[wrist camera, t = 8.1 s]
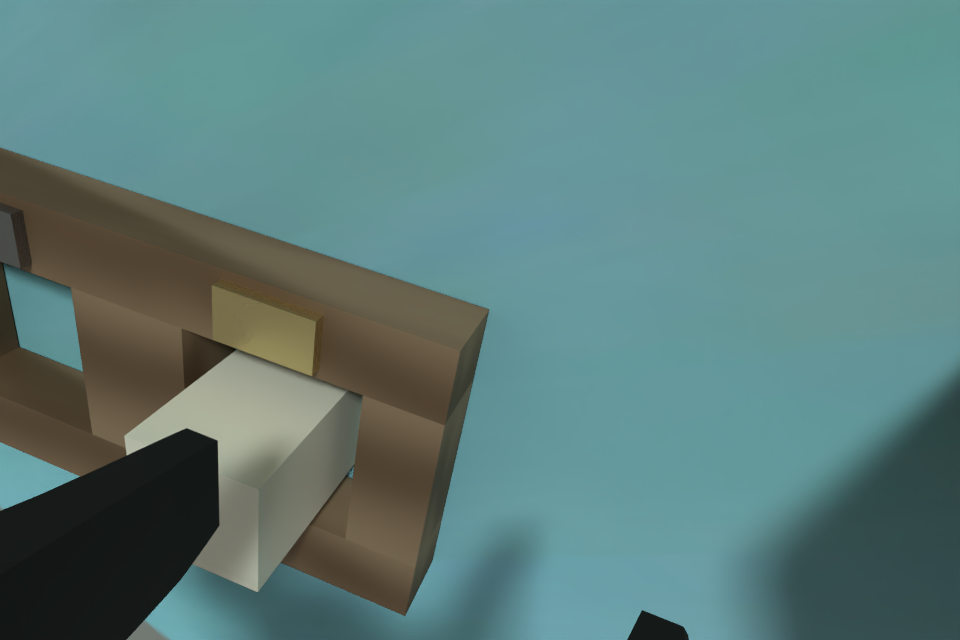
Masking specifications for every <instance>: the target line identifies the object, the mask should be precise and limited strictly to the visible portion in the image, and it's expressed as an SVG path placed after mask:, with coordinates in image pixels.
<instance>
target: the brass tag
mask: <svg viewBox="0 0 960 640" xmlns="http://www.w3.org/2000/svg"><path fill="white" fill-rule="evenodd" d="M323 316H324V315H321V314H318V313H316V312H313V311H310V310H307V309H304V308H301V307H298V306H296V305H293V304H290V303H287V302H284V301H281V300H278V299H275V298H273V297H270V296H267V295H264V294H261V293H258V292H255V291H253V290H250V289H247V288H244V287H241V286H238V285H235V284H232V283H230V282H227V281H224V280H219V281H218V282H216V283H214V284H213V285H212V326H213V340H215V341H217V342H220V343H223V344H226V345H228V346H231V347H234V348H236V349H239V350H242V351H245V352H247V353H250V354H253V355H255V356H258V357H261V358H264V359H266V360H269V361H272V362H274V363H277V364H280V365H283V366H285V367H288V368H291V369H293V370H296V371H299V372H301V373H304V374H307V375H310V376H313V375H314V374H315V373H316V372H317V371H318V370H319V368H320V355H321V342H322V329H323Z"/></svg>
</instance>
